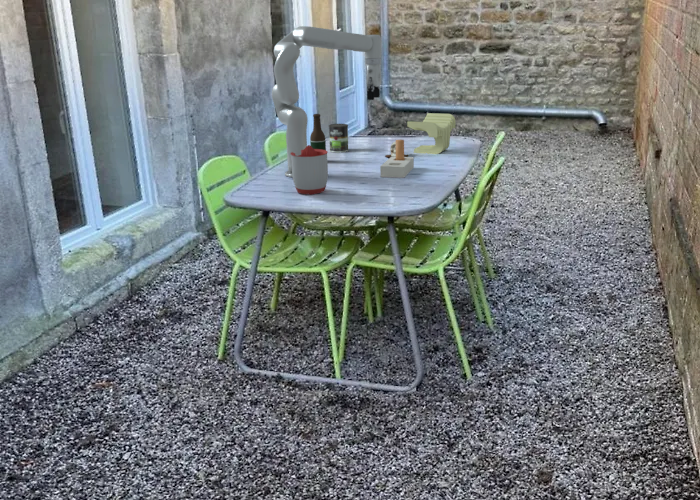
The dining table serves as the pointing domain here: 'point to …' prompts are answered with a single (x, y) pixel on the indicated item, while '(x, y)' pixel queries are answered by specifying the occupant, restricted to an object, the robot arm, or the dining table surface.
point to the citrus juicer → (310, 170)
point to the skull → (393, 151)
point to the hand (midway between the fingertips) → (373, 98)
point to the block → (397, 167)
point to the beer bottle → (317, 135)
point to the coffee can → (338, 137)
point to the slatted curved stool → (435, 131)
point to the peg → (400, 150)
